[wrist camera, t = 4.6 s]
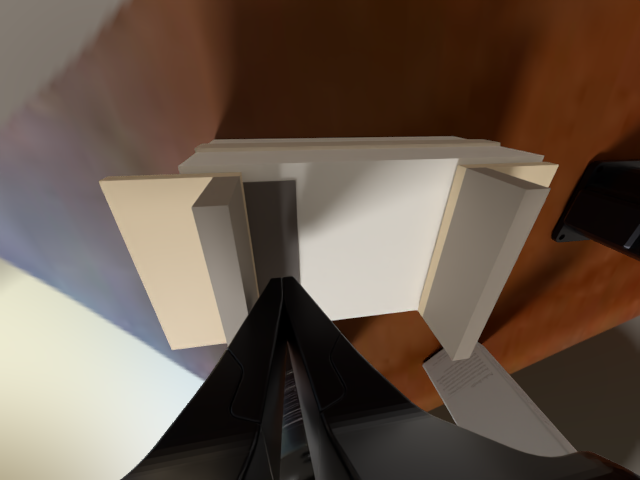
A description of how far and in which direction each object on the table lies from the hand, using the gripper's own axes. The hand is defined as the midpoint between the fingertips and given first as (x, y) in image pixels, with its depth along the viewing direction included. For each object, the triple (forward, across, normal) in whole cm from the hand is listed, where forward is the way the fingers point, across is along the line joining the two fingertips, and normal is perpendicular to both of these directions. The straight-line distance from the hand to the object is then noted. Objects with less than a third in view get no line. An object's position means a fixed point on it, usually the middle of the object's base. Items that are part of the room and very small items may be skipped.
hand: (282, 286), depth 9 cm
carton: (+8, -4, 0) cm, 9 cm away
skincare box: (+8, -17, +18) cm, 26 cm away
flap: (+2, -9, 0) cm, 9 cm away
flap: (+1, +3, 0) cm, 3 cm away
